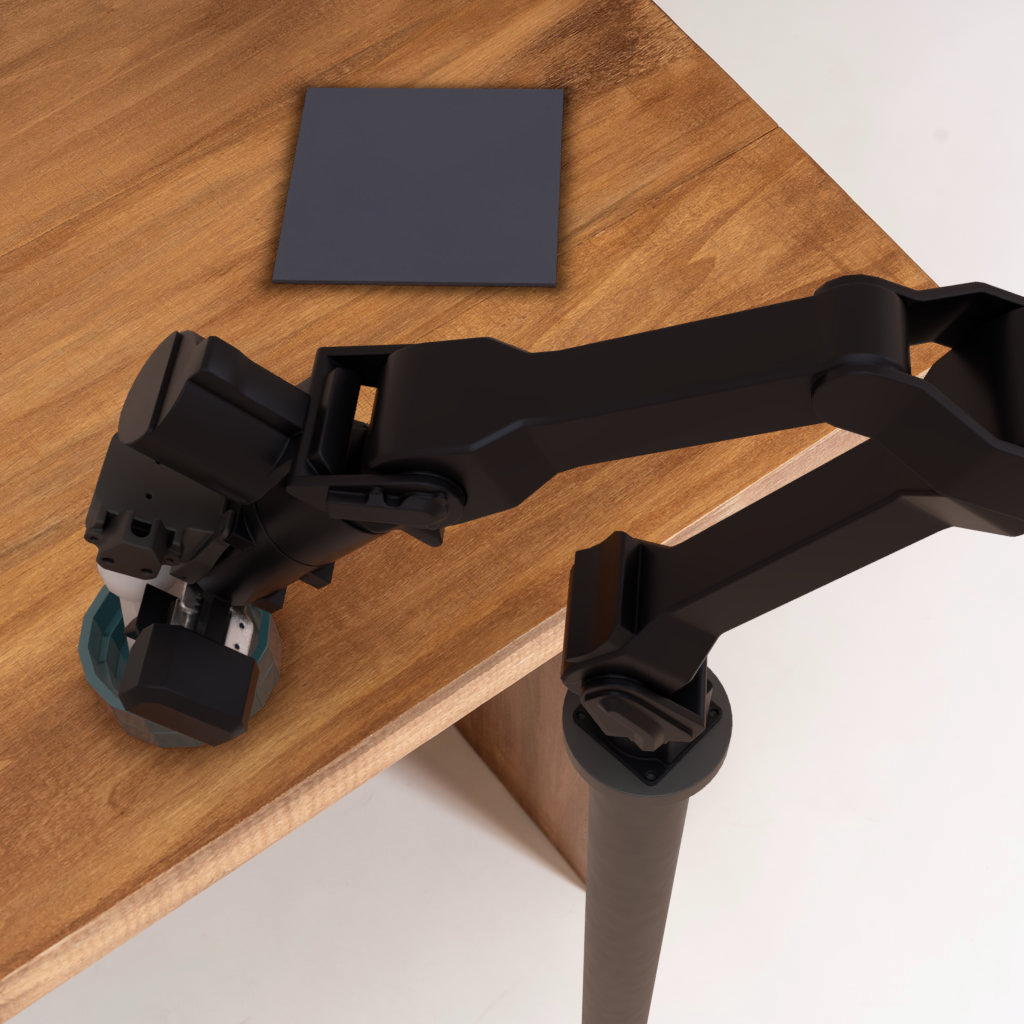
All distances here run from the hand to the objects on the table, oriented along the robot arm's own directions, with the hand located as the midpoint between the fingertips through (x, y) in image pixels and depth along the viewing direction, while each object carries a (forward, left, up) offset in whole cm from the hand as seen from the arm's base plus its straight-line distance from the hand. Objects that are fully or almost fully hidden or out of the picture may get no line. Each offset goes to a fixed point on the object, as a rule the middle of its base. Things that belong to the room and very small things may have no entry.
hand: (139, 606), depth 79 cm
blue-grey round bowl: (-1, -1, -7) cm, 7 cm away
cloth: (+18, -38, -7) cm, 43 cm away
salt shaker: (-1, -1, -7) cm, 7 cm away
